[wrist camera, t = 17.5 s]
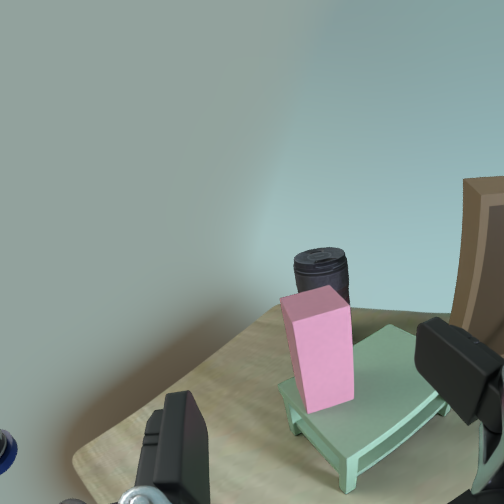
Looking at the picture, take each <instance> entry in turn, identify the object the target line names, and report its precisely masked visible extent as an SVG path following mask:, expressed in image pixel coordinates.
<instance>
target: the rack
mask: <svg viewBox="0 0 504 504" xmlns="http://www.w3.org/2000/svg"><path fill="white" fill-rule="evenodd" d="M415 344H416V336H414V335H412V334H410V333H408V332H406V331H404V330H402V329H400V328H398V327H395V326H393V325H391V324H388V325H386V326H385V327H383V328H382V329H380V330H378V331H377V332H375V333H374V334H372V335H370V336H369V337H367V338H365V339H364V340H362V341H360V342H358V343H357V344H355V345H353V368H354V399H352V400H350V401H347V402H344V403H341V404H338V405H335V406H332V407H329V408H326V409H323V410H320V411H316V412H313V413H310V414H307V412H306V409H305V407H304V404H303V401H302V399H301V396H300V393H299V391H298V388H297V386H296V381H295V376H294V377H292V378H290V379H288V380H286V381H284V382H282V383H280V384H278V389H279V392H280V393H281V395H282V396H283V400H284V404H285V408H286V413H287V417H288V421H289V426H290V430H291V431H292V433H293V434H294V435H295V436H296V435H298V434H300V433H303V434H304V435H305V436H306V437H307V439H308V440H309V441H310V442H311V443H312V444H313V446H314V447H315V448H316V449H317V450H318V451H319V452H320V453H321V455H322V456H323V457H324V458H325V459H326V460H327V461H328V462H329V464H330V465H331V466H332V467H333V468H334V469H335V470H336V471H337V472H338V473H339V488H340V489H341V490H342V491H343V492H344V493H345V494H347V493H349V492H350V491H352V490H354V489H355V488H356V480H357V476H359V475H360V474H362V473H363V472H365V471H366V470H368V469H369V468H370V467H372V466H373V465H375V464H376V463H377V462H379V461H380V460H382V459H383V458H384V457H386V456H387V455H388V454H390V453H391V452H392V451H393V450H395V449H396V448H397V447H399V446H400V445H401V444H402V443H404V442H405V441H406V440H407V439H408V438H410V437H411V436H412V435H413V434H414V433H415V432H417V431H418V430H419V429H420V428H421V427H422V426H423V425H424V424H426V423H427V422H428V421H429V420H430V419H431V418H432V417H433V416H434V415H435V414H436V413H437V412H438V413H439V414H441V415H442V416H445V415H446V414H447V413H448V412H449V411H450V409H451V407H450V406H449V405H448V403H447V402H446V401H445V400H444V399H443V398H442V397H441V396H440V395H439V394H438V393H437V392H436V391H435V389H434V388H433V387H432V386H431V385H430V384H429V383H428V382H427V381H426V380H425V379H424V378H423V377H422V376H421V375H420V374H419V372H418V371H417V369H416V367H415V363H414V354H415Z"/></svg>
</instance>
